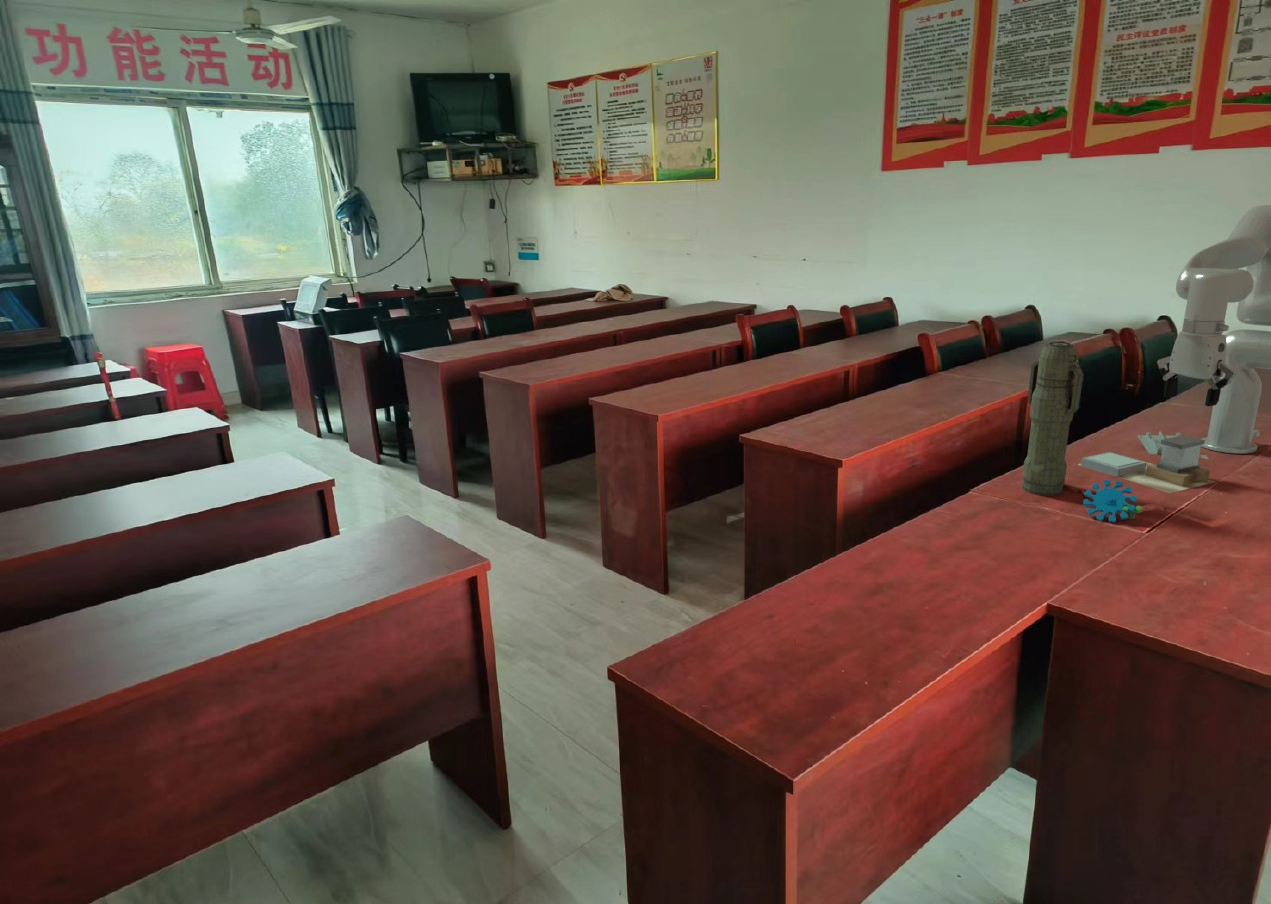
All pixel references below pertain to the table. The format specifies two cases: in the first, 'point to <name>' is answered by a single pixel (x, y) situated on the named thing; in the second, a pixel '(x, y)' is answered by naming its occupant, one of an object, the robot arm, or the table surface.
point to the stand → (1178, 475)
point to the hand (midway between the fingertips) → (1189, 401)
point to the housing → (1180, 454)
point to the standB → (1113, 464)
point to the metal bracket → (1157, 443)
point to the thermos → (1051, 417)
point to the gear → (1111, 501)
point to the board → (1157, 481)
